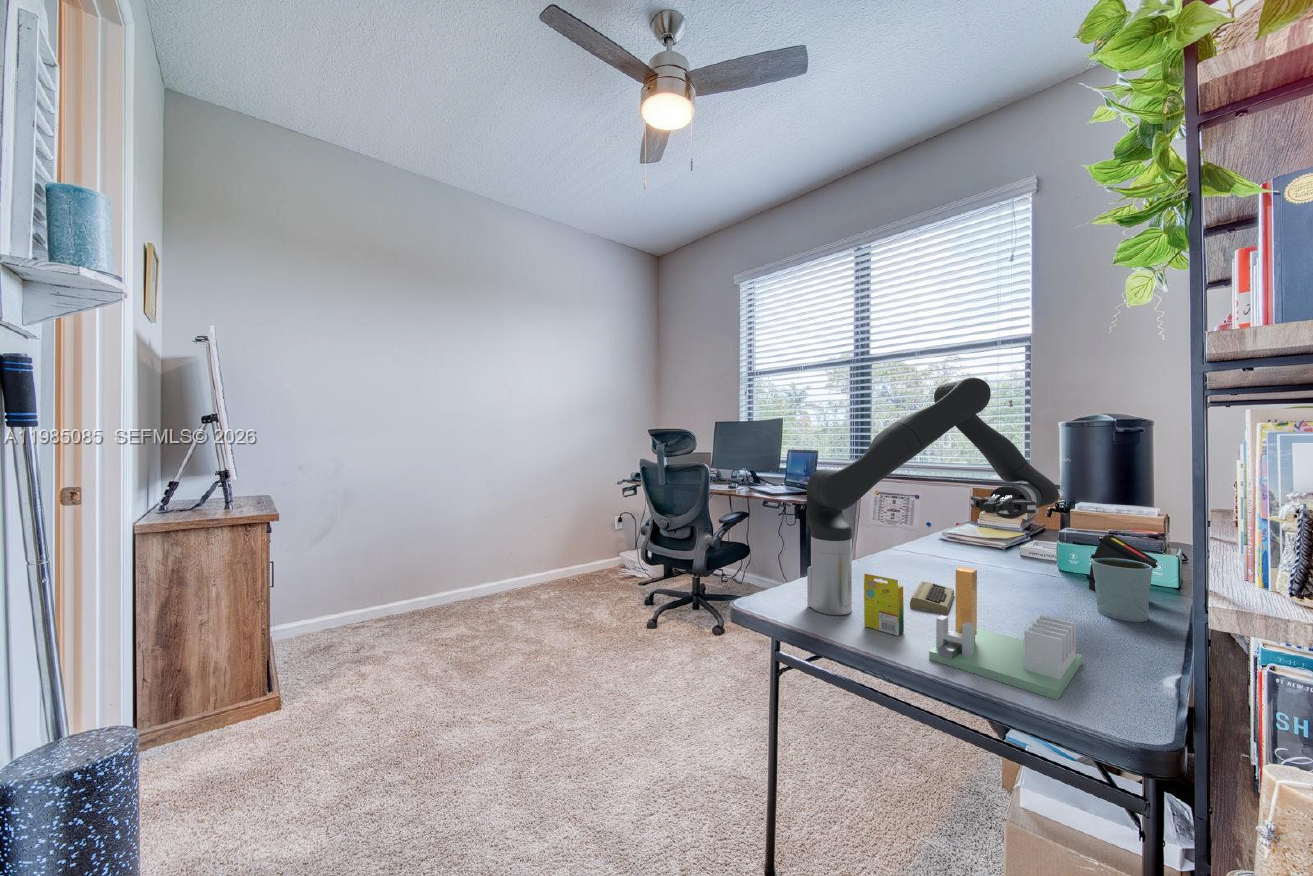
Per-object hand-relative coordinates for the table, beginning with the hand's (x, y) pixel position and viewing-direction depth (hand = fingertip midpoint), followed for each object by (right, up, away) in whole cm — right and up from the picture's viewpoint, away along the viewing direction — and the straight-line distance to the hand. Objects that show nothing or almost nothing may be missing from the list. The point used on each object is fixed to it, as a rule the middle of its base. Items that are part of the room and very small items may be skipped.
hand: (989, 508), depth 106 cm
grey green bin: (+36, -26, +9) cm, 45 cm away
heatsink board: (-7, -26, -13) cm, 30 cm away
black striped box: (+49, -26, +22) cm, 59 cm away
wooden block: (-14, -25, -11) cm, 30 cm away
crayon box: (-22, -26, +1) cm, 34 cm away
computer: (-2, -26, +19) cm, 32 cm away
